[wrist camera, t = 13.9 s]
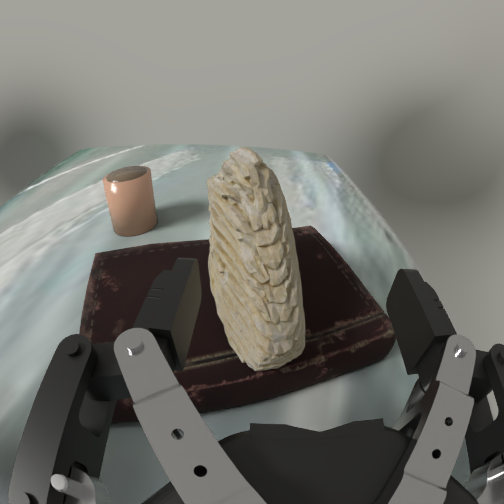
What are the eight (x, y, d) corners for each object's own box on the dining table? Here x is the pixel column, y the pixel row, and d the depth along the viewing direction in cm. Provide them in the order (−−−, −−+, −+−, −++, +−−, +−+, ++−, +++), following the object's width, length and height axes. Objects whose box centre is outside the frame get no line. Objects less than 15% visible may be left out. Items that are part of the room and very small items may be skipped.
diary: (383, 366, 23) (404, 333, 20) (100, 432, 17) (70, 406, 14) (303, 252, 37) (308, 218, 34) (107, 282, 31) (95, 248, 28)
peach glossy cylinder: (105, 235, 38) (93, 183, 33) (125, 213, 44) (116, 166, 39) (147, 237, 38) (138, 181, 33) (163, 213, 43) (157, 164, 39)
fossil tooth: (231, 387, 17) (202, 246, 29) (320, 365, 19) (263, 236, 30) (213, 258, 10) (189, 134, 21) (368, 233, 11) (265, 127, 22)
